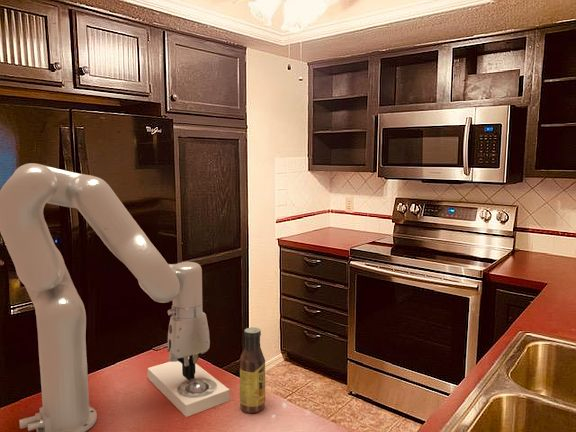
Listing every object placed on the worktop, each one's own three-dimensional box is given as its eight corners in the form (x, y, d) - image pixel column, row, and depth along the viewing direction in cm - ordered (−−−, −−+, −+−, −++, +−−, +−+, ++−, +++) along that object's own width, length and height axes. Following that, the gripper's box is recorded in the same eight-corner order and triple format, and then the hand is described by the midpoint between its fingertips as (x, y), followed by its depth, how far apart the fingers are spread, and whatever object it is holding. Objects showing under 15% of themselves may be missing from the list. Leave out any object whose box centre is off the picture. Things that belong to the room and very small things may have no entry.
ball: (199, 406, 116) (183, 399, 115) (203, 390, 120) (188, 384, 118) (207, 397, 114) (191, 391, 112) (211, 382, 117) (195, 375, 116)
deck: (186, 417, 108) (186, 405, 108) (147, 378, 127) (147, 368, 126) (229, 400, 116) (229, 389, 115) (187, 366, 134) (187, 356, 134)
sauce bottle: (264, 414, 110) (264, 336, 107) (238, 414, 110) (237, 335, 107) (266, 400, 116) (266, 325, 113) (241, 399, 116) (241, 325, 114)
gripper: (166, 320, 110) (168, 392, 112) (220, 308, 119) (221, 374, 121) (154, 312, 115) (156, 380, 118) (206, 301, 125) (207, 364, 127)
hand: (189, 377), depth 120 cm, fingers closed
